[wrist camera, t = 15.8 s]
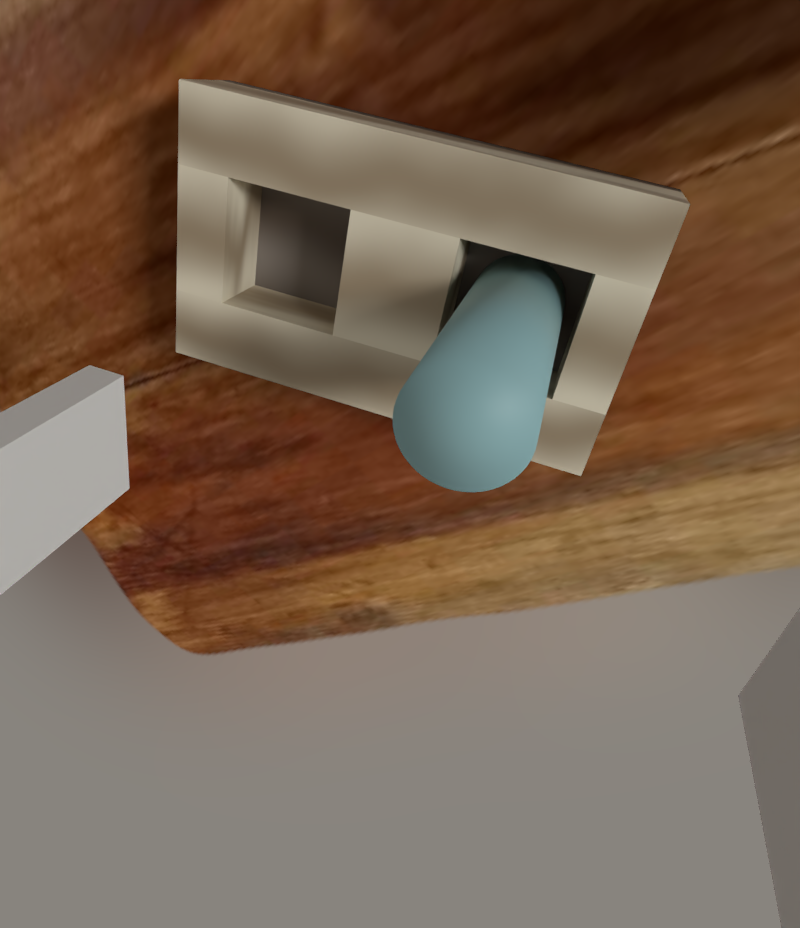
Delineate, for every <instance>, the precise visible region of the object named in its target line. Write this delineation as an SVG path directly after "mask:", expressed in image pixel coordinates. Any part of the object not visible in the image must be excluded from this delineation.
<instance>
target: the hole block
mask: <svg viewBox="0 0 800 928" xmlns="http://www.w3.org/2000/svg"><path fill="white" fill-rule="evenodd" d="M689 206H690V203H689V202H688V200H687V199H686V197H685V196H684V194H683V193H682V192H681V190H680V189H676V188H672V187H667V186H663V185H659V184H655V183H651V182H647V181H643V180H639V179H634V178H630V177H626V176H622V175H618V174H614V173H610V172H606V171H601V170H597V169H593V168H589V167H585V166H581V165H577V164H573V163H568V162H564V161H560V160H556V159H552V158H548V157H544V156H540V155H535V154H531V153H527V152H523V151H519V150H515V149H511V148H507V147H502V146H498V145H494V144H490V143H486V142H482V141H478V140H474V139H469V138H465V137H461V136H457V135H453V134H449V133H445V132H441V131H436V130H432V129H428V128H424V127H420V126H416V125H412V124H408V123H403V122H399V121H395V120H391V119H387V118H383V117H379V116H375V115H370V114H366V113H362V112H358V111H354V110H350V109H346V108H342V107H337V106H333V105H329V104H325V103H321V102H317V101H313V100H309V99H304V98H300V97H296V96H292V95H288V94H284V93H280V92H276V91H271V90H267V89H263V88H259V87H255V86H251V85H247V84H243V83H238V82H234V81H230V80H194V79H179V119H178V205H177V291H176V352H177V353H180V354H184V355H187V356H190V357H194V358H197V359H200V360H203V361H207V362H210V363H213V364H216V365H220V366H223V367H226V368H229V369H233V370H236V371H239V372H242V373H246V374H249V375H252V376H256V377H259V378H262V379H265V380H269V381H272V382H275V383H278V384H282V385H285V386H288V387H291V388H295V389H298V390H301V391H305V392H308V393H311V394H314V395H318V396H321V397H324V398H327V399H331V400H334V401H337V402H340V403H344V404H347V405H350V406H354V407H357V408H360V409H363V410H367V411H370V412H373V413H376V414H380V415H383V416H386V417H389V418H393V410H394V405H395V402H396V399H397V397H398V394H399V392H400V390H401V389H402V387H403V386H404V384H405V383H406V381H407V380H408V378H409V377H410V375H411V374H412V373H413V371H414V370H415V368H416V367H417V365H418V364H419V362H420V361H421V360H422V358H423V357H424V355H425V354H426V352H427V351H428V349H429V348H430V347H431V345H432V344H433V342H434V341H435V339H436V338H437V336H438V335H439V333H440V332H441V331H442V329H443V328H444V326H445V325H446V323H447V322H448V320H449V319H450V318H451V316H452V315H453V313H454V312H455V310H456V309H457V307H458V306H459V305H460V303H461V302H462V300H463V299H464V297H465V296H466V294H467V293H468V291H469V290H470V289H471V287H472V286H473V284H474V283H475V281H476V280H477V278H478V277H479V276H480V274H481V273H482V272H483V270H484V269H485V268H486V267H487V266H488V265H489V264H491V263H492V262H494V261H495V260H497V259H499V258H501V257H504V256H507V255H512V254H521V255H525V256H529V257H532V258H536V259H540V260H543V261H545V262H546V263H548V264H549V265H550V266H551V267H552V268H553V269H554V270H555V271H556V272H557V274H558V275H559V277H560V279H561V281H562V283H563V286H564V290H565V309H564V314H563V319H562V324H561V329H560V334H559V339H558V344H557V348H556V353H555V358H554V363H553V368H552V373H551V378H550V383H549V388H548V393H547V398H546V403H545V408H544V413H543V418H542V423H541V428H540V433H539V438H538V442H537V446H536V450H535V452H534V455H533V457H532V459H531V461H533V462H536V463H540V464H543V465H546V466H550V467H553V468H556V469H559V470H563V471H566V472H569V473H572V474H576V475H579V476H581V475H582V472H583V470H584V467H585V465H586V462H587V460H588V457H589V455H590V452H591V450H592V447H593V445H594V442H595V440H596V437H597V435H598V432H599V430H600V428H601V425H602V423H603V420H604V418H605V415H606V413H607V410H608V408H609V405H610V403H611V400H612V398H613V395H614V393H615V390H616V388H617V385H618V383H619V380H620V378H621V375H622V373H623V370H624V368H625V365H626V363H627V360H628V358H629V355H630V353H631V350H632V348H633V345H634V343H635V340H636V338H637V335H638V333H639V331H640V328H641V326H642V323H643V321H644V318H645V316H646V313H647V311H648V308H649V306H650V303H651V301H652V298H653V296H654V293H655V291H656V288H657V286H658V283H659V281H660V278H661V276H662V273H663V271H664V268H665V266H666V263H667V261H668V258H669V256H670V253H671V251H672V248H673V246H674V243H675V241H676V238H677V236H678V234H679V231H680V229H681V226H682V224H683V221H684V219H685V216H686V214H687V211H688V209H689Z"/></svg>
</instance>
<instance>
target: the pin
mask: <svg viewBox="0 0 800 928" xmlns="http://www.w3.org/2000/svg"><path fill="white" fill-rule="evenodd" d="M564 309H565V290H564V286H563V283H562V281H561V279H560V277H559V275H558V274H557V272H556V271H555V270H554V269H553V268H552V267H551V266H550V265H549V264H548V263H546V262H545V261H543V260H540V259H536V258H532V257H529V256H525V255H521V254H512V255H507V256H504V257H501V258H499V259H497V260H495V261H494V262H492V263H491V264H489V265H488V266H487V267H486V268H485V269H484V270H483V272H482V273H481V274H480V276H479V277H478V278H477V280H476V281H475V283H474V284H473V286H472V287H471V289H470V290H469V291H468V293H467V294H466V296H465V297H464V299H463V300H462V302H461V303H460V305H459V306H458V307H457V309H456V310H455V312H454V313H453V315H452V316H451V318H450V319H449V320H448V322H447V323H446V325H445V326H444V328H443V329H442V331H441V332H440V333H439V335H438V336H437V338H436V339H435V341H434V342H433V344H432V345H431V347H430V348H429V349H428V351H427V352H426V354H425V355H424V357H423V358H422V360H421V361H420V362H419V364H418V365H417V367H416V368H415V370H414V371H413V373H412V374H411V375H410V377H409V378H408V380H407V381H406V383H405V384H404V386H403V387H402V389H401V390H400V392H399V394H398V397H397V399H396V402H395V405H394V410H393V430H394V435H395V438H396V442H397V444H398V446H399V449H400V450H401V452H402V454H403V456H404V457H405V459H406V460H407V461H408V462H409V464H410V465H411V466H412V467H413V468H414V469H415V470H416V471H417V472H418V473H420V474H421V475H422V476H423V477H425V478H426V479H428V480H430V481H431V482H433V483H435V484H437V485H439V486H442V487H445V488H447V489H451V490H455V491H462V492H482V491H487V490H492V489H495V488H498V487H500V486H503V485H505V484H507V483H508V482H510V481H511V480H513V479H514V478H516V477H517V476H518V475H519V474H520V473H521V472H522V471H523V470H524V469H525V468H526V467H527V465H528V464H529V462H530V461H531V459H532V457H533V455H534V452H535V450H536V446H537V442H538V438H539V433H540V428H541V423H542V418H543V413H544V408H545V403H546V398H547V393H548V388H549V383H550V378H551V373H552V368H553V363H554V358H555V353H556V348H557V344H558V339H559V334H560V329H561V324H562V319H563V314H564Z"/></svg>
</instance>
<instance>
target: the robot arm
mask: <svg viewBox="0 0 800 928" xmlns="http://www.w3.org/2000/svg"><path fill="white" fill-rule="evenodd" d="M128 489H129V472H128V453H127V433H126V414H125V395H124V376H123V375H119V374H116V373H113V372H110V371H107V370H103V369H100V368H97V367H94V366H91V365H89V366H87V367H85V368H83V369H81V370H80V371H78V372H76V373H74V374H72V375H70V376H68V377H66V378H65V379H63V380H61V381H59V382H57V383H55V384H53V385H51V386H50V387H48V388H46V389H44V390H42V391H40V392H38V393H37V394H35V395H33V396H31V397H29V398H27V399H25V400H23V401H22V402H20V403H18V404H16V405H14V406H12V407H10V408H8V409H7V410H5V411H3V412H1V413H0V595H1V594H2V593H3V592H5V591H6V590H7V589H8V588H10V587H11V586H12V585H13V584H14V583H15V582H17V581H18V580H19V579H21V578H22V577H23V576H24V575H25V574H27V573H28V572H29V571H30V570H31V569H33V568H34V567H35V566H36V565H37V564H39V563H40V562H41V561H42V560H43V559H45V558H46V557H47V556H48V555H50V554H51V553H52V552H53V551H54V550H56V549H57V548H58V547H59V546H60V545H62V544H63V543H64V542H65V541H66V540H67V539H69V538H70V537H71V536H72V535H74V533H76V532H77V531H78V530H80V529H81V528H82V527H83V526H85V525H86V524H87V523H88V522H89V521H91V520H92V519H93V518H94V517H95V516H97V515H98V514H99V513H100V512H102V511H103V510H104V509H105V508H106V507H108V506H109V505H110V504H111V503H112V502H114V501H115V500H116V499H117V498H118V497H120V496H121V495H122V494H123V493H125V492H126V491H127V490H128ZM738 697H739V702H740V708H741V713H742V718H743V724H744V729H745V734H746V740H747V745H748V750H749V756H750V761H751V767H752V772H753V777H754V783H755V788H756V793H757V799H758V804H759V809H760V815H761V820H762V825H763V831H764V836H765V841H766V847H767V852H768V858H769V862H770V868H771V874H772V879H773V884H774V890H775V895H776V900H777V906H778V911H779V916H780V922H781V927H782V928H800V608H799V610H798V611H797V613H796V614H795V615H794V617H793V618H792V620H791V621H790V623H789V624H788V625H787V627H786V628H785V630H784V631H783V633H782V634H781V635H780V637H779V638H778V640H777V641H776V643H775V644H774V645H773V647H772V648H771V650H770V651H769V653H768V654H767V655H766V657H765V658H764V660H763V661H762V663H761V664H760V666H759V667H758V668H757V670H756V671H755V673H754V674H753V675H752V677H751V679H750V680H749V681H748V683H747V684H746V685H745V687H744V688H743V690H742V691H741V693H740V694H739V695H738Z"/></svg>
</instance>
